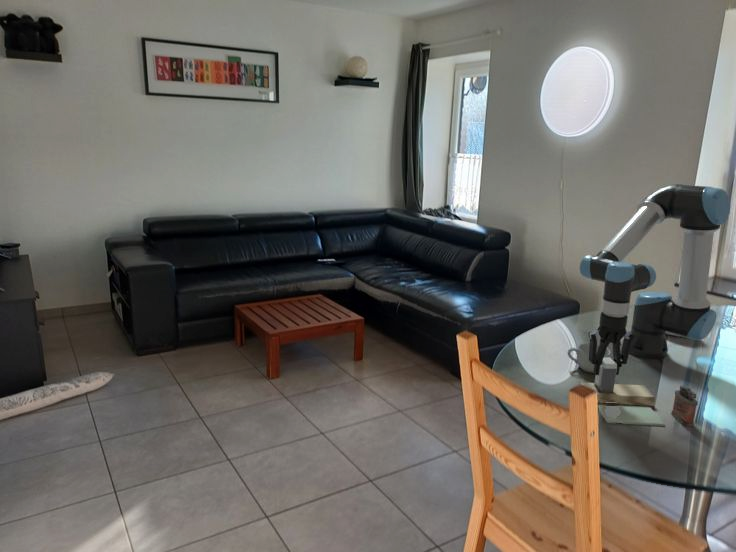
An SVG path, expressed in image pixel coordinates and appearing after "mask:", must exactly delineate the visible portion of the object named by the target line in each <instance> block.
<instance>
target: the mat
mask: <svg viewBox="0 0 736 552" xmlns="http://www.w3.org/2000/svg"><path fill="white" fill-rule="evenodd" d="M598 405H599V410H598V412H599V413H600V414H601V416H602V418H603V419H604V418H605V419H604V421H605V422H606V423H607V424H613V423H612V422H617V423H622V425H636V426H638V425H639V426H656V427H657V426H660V427H661V426H662V427H665V425H666V424H665V422H664V421H663V420H662V419H661V417H660V416H658V415H657V413H656V412H655V411H654V410H653V409H652V408H651V406H640V405H619V406H620V407H619V409H620V411H621V413H620V415H619V416H617V418H616V419H612V418H611V417H608V416H607V415H606V413H605V409H606V405H607V404H598Z"/></svg>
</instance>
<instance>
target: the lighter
mask: <svg viewBox="0 0 736 552" xmlns="http://www.w3.org/2000/svg"><path fill="white" fill-rule="evenodd" d="M696 398H697V393H696V392H695V391H692V390H691V388H690V387H686V386H685V385H681V384H680V386H679V389H678V390H677V389H676V390H675V391H674V400H673V407H672V410H671V412H670V414H671V416H672V417H673V418H674V419H675V420H676V421H677V422H679V423H680V424H682V426H685V427H687V428H688V427H689V428H693V427H694V424H695V422H694V421H695V415H696V410H697V406H698V404H699V401H698V400H696Z"/></svg>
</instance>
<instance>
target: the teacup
mask: <svg viewBox="0 0 736 552" xmlns="http://www.w3.org/2000/svg"><path fill="white" fill-rule="evenodd" d="M599 345H600V343H599V344H598V343H597V351H598V348H599ZM589 347H590V342H582V343H579V344H578V345H577V348H576V347H570V348H568V350H567V356H568V357H569V359H570V360H571V361H573V362H574V363H575V364H576V365H578V367H580V368H581V370H582V371H584V372H587V373H592V374H594V372H593V371H594V364H592V363H591V362H590V361H589ZM597 351H596V354H597ZM572 352H576V353H575V354H576V357H573V355H572V354H571V353H572ZM610 356H611V350H610V349H609V348H608V347H607V349H606V352H605V355H604V357H610Z"/></svg>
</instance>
